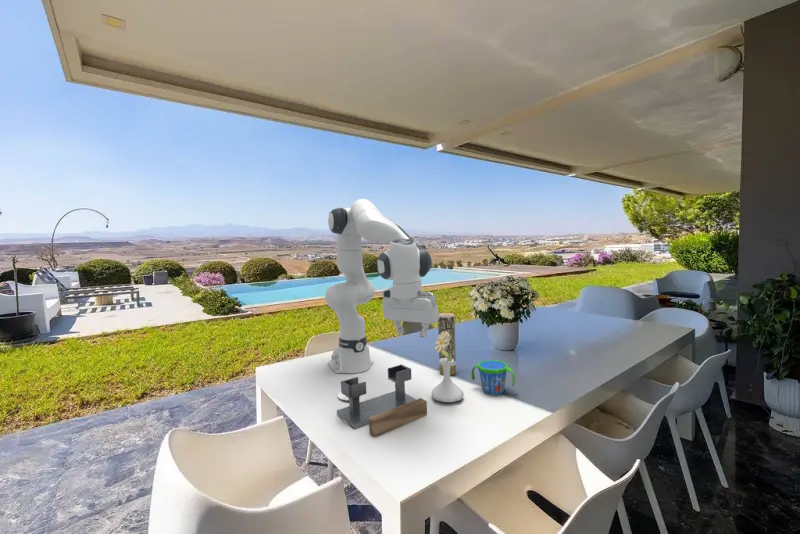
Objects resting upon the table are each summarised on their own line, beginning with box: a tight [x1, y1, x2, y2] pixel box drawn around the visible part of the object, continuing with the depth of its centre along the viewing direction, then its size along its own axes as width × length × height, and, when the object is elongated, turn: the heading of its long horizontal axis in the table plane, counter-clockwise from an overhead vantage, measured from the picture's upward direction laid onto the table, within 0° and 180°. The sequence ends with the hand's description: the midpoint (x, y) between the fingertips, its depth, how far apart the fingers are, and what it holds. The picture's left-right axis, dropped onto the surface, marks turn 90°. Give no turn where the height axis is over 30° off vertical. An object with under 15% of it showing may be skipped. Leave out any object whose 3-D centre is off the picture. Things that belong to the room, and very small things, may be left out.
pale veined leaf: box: [337, 390, 346, 401], centre depth 132 cm, size 8×12×2 cm, turn 28°
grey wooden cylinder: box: [437, 312, 457, 377], centre depth 151 cm, size 7×7×25 cm
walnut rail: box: [368, 397, 428, 438], centre depth 111 cm, size 3×20×5 cm, turn 127°
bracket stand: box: [336, 364, 418, 430], centre depth 121 cm, size 12×25×12 cm, turn 126°
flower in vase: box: [430, 331, 464, 403], centre depth 126 cm, size 13×11×25 cm
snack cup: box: [470, 359, 516, 396], centre depth 132 cm, size 16×10×10 cm
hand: (411, 335), depth 113 cm, fingers open, 8 cm apart
